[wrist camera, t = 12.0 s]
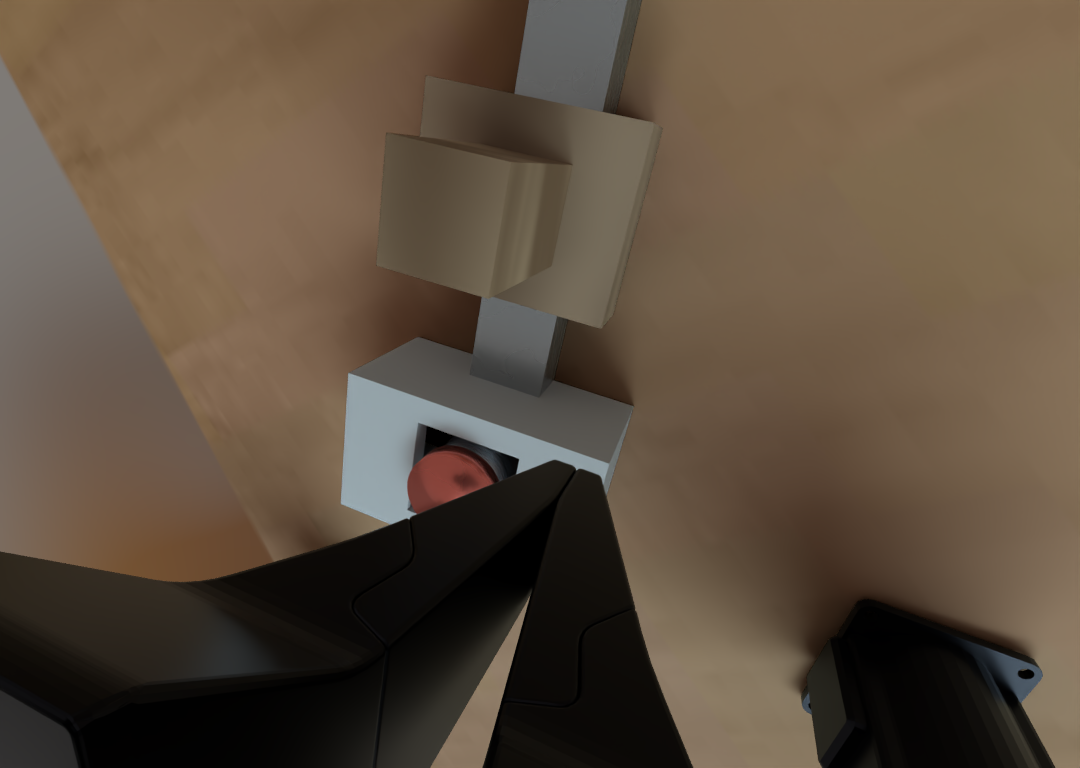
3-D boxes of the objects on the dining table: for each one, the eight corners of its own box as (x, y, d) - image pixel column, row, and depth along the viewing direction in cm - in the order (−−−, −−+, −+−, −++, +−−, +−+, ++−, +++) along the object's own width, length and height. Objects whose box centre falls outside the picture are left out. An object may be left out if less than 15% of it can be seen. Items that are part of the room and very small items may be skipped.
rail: (730, -384, 14) (730, -464, 12) (553, 380, 23) (538, 397, 21) (618, -385, 15) (603, -460, 13) (489, 359, 24) (469, 374, 22)
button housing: (633, 406, 22) (609, 463, 18) (598, 521, 25) (569, 597, 20) (417, 336, 25) (348, 373, 20) (405, 449, 27) (340, 503, 23)
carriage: (669, 132, 18) (621, 101, 10) (623, 302, 21) (555, 382, 13) (479, 92, 20) (311, 39, 12) (457, 256, 22) (305, 301, 14)
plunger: (545, 416, 23) (501, 475, 18) (530, 483, 24) (485, 552, 20) (472, 391, 24) (411, 442, 19) (461, 457, 25) (403, 519, 21)
